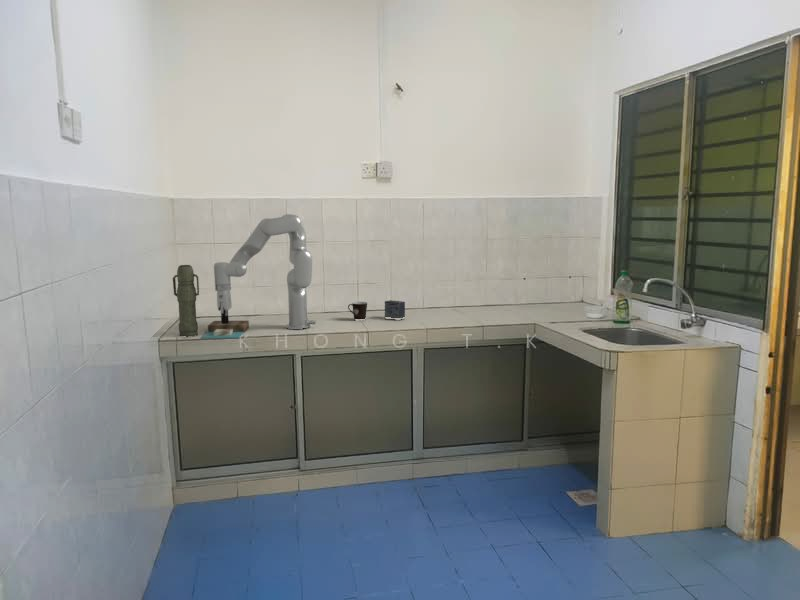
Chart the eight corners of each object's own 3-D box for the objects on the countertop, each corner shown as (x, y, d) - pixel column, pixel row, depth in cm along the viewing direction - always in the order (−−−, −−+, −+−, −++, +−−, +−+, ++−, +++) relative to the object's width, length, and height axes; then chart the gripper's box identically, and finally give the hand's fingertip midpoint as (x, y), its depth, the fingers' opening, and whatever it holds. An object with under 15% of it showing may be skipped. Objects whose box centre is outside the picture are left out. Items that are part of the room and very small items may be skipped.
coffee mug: (370, 320, 323) (370, 303, 321) (357, 322, 318) (356, 304, 316) (359, 317, 332) (359, 300, 331) (347, 318, 327) (346, 301, 326)
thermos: (176, 333, 285) (172, 264, 280) (201, 332, 289) (197, 264, 283) (175, 337, 277) (171, 266, 271) (200, 336, 281) (197, 265, 275)
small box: (405, 319, 327) (405, 301, 326) (399, 321, 322) (399, 302, 320) (390, 317, 333) (390, 299, 331) (384, 319, 327) (384, 301, 326)
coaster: (229, 331, 279) (230, 335, 279) (232, 329, 285) (232, 332, 285) (213, 331, 279) (213, 335, 279) (216, 329, 285) (216, 333, 285)
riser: (248, 327, 301) (248, 320, 300) (244, 332, 289) (243, 325, 288) (214, 328, 299) (214, 320, 299) (208, 333, 288) (207, 325, 287)
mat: (243, 332, 288) (243, 331, 288) (238, 338, 276) (238, 337, 276) (208, 333, 287) (207, 332, 287) (201, 338, 275) (201, 337, 275)
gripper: (227, 289, 274) (229, 326, 277) (234, 285, 289) (235, 320, 292) (211, 289, 274) (213, 326, 277) (219, 285, 289) (221, 320, 292)
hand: (225, 323), depth 285 cm, fingers closed
